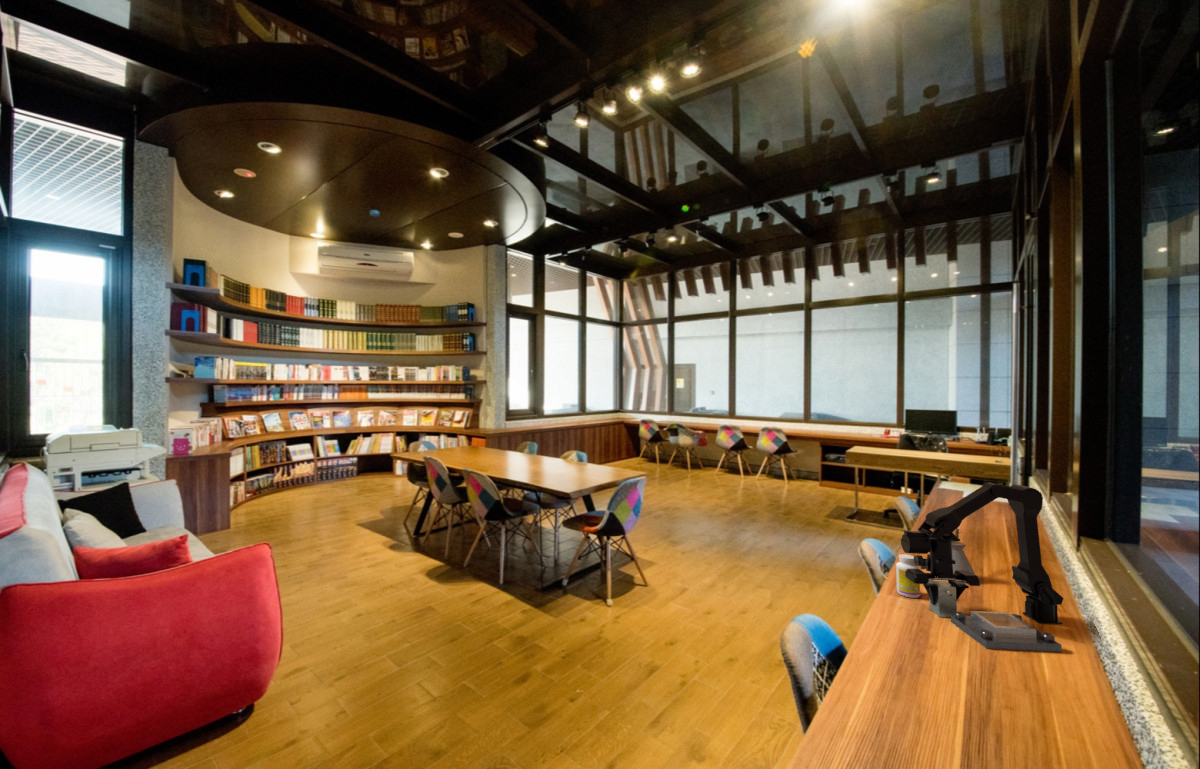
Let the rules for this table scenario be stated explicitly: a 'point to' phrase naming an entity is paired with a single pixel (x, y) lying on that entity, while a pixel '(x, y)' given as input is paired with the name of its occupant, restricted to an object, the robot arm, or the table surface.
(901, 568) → the supplement bottle
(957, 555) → the coffee pot
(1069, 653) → the table surface
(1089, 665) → the table surface
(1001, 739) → the table surface
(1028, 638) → the square hole base plate
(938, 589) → the brushed metal square peg
